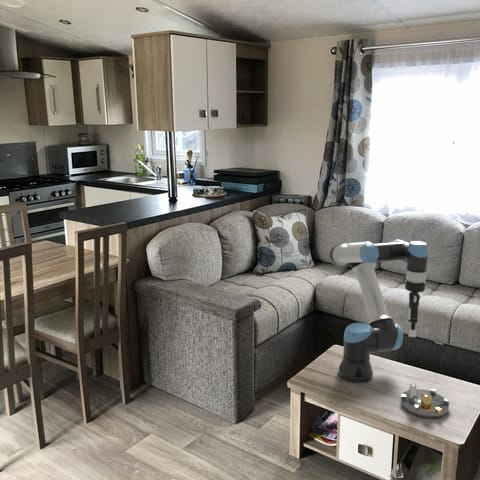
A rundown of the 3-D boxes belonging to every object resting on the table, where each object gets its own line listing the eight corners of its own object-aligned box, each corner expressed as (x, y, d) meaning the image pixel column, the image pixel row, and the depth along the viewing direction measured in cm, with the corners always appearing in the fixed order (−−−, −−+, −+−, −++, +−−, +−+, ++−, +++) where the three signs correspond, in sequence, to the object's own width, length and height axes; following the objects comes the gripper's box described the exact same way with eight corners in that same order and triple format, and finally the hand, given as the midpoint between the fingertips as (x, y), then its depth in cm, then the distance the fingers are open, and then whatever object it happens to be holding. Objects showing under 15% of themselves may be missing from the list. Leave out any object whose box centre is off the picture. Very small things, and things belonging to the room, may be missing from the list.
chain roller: (418, 407, 198) (419, 395, 197) (423, 403, 200) (424, 391, 199) (428, 411, 195) (429, 399, 194) (432, 407, 198) (433, 395, 196)
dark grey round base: (419, 422, 192) (421, 398, 189) (391, 397, 209) (393, 375, 206) (458, 414, 197) (461, 391, 194) (428, 390, 214) (430, 369, 211)
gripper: (405, 270, 213) (401, 317, 218) (406, 289, 190) (402, 341, 195) (423, 272, 211) (419, 319, 216) (427, 291, 188) (422, 343, 193)
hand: (411, 329), depth 206 cm, fingers open, 13 cm apart
